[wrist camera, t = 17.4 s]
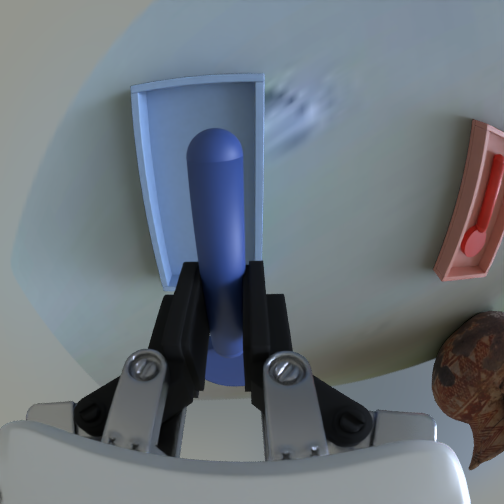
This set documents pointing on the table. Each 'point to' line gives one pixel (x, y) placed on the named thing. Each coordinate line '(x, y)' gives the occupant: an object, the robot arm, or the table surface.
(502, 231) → the rose tray
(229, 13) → the table surface
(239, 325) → the navy spoon
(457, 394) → the jug
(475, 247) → the red spoon
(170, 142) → the blue tray
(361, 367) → the table surface
